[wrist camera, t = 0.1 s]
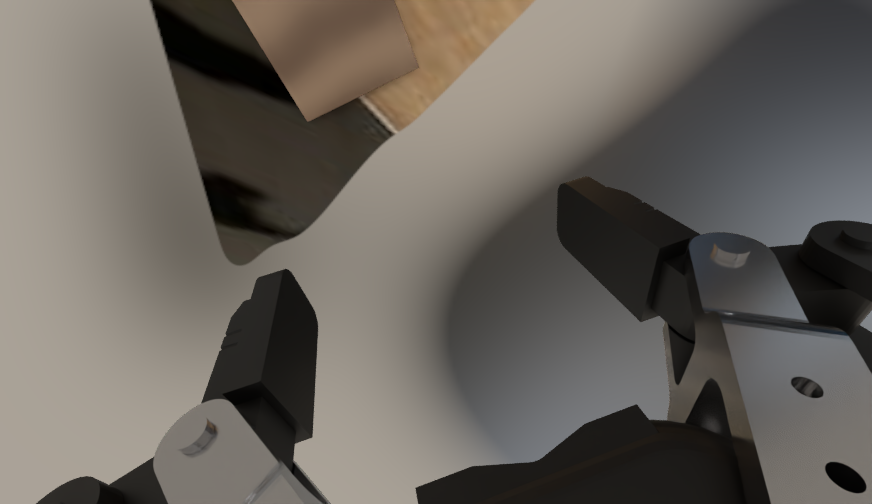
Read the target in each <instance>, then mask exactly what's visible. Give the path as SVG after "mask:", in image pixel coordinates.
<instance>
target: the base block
mask: <svg viewBox="0 0 872 504" xmlns="http://www.w3.org/2000/svg"><path fill="white" fill-rule="evenodd" d="M232 1H233V2H234V4H235V6H236V7H237V9H238V11H239V12H240V14H241V15H242V17H243V19H244V20H245V22H246V23H247V25H248V27H249V28H250V30H251V32H252V33H253V35H254V36H255V38H256V40H257V41H258V43H259V44H260V46H261V48H262V49H263V51H264V52H265V54H266V56H267V57H268V59H269V61H270V62H271V64H272V65H273V67H274V69H275V70H276V72H277V73H278V75H279V77H280V78H281V80H282V82H283V83H284V85H285V86H286V88H287V90H288V91H289V93H290V94H291V96H292V98H293V99H294V101H295V102H296V104H297V106H298V107H299V109H300V111H301V112H302V114H303V115H304V117H305V119H306V120H307V122H309V121H311V120H313V119H315V118H317V117H319V116H321V115H323V114H325V113H327V112H329V111H331V110H333V109H335V108H337V107H339V106H341V105H343V104H345V103H347V102H350V101H352V100H354V99H356V98H358V97H360V96H362V95H364V94H366V93H368V92H370V91H372V90H374V89H376V88H378V87H380V86H382V85H384V84H386V83H388V82H390V81H393V80H395V79H397V78H399V77H401V76H403V75H405V74H407V73H409V72H411V71H413V70H415V69H417V68H419V66H418V63H417V61H416V58H415V55H414V53H413V50H412V47H411V44H410V42H409V39H408V36H407V34H406V31H405V28H404V26H403V23H402V20H401V18H400V15H399V12H398V10H397V7H396V4H395V1H394V0H232Z"/></svg>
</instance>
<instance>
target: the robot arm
mask: <svg viewBox="0 0 872 504" xmlns="http://www.w3.org/2000/svg"><path fill="white" fill-rule="evenodd" d="M557 233H558V237H559V240H560V242H561V244H562V245H563V246H564V248H565V249H566V250H567V251H568V252H569V253H570V254H571V255H572V256H573V257H574V258H576V259H577V260H578V261H579V262H580V263H581V264H582V265H583V266H584V267H585V268H586V269H587V270H588V271H589V272H590V273H591V274H592V275H593V276H594V277H595V278H596V279H597V280H598V281H599V282H600V283H601V284H602V285H603V286H604V287H605V288H607V290H608V291H609V292H610V293H611V294H612V295H614V296H615V297H616V298H617V299H618V300H619V301H620V302H621V303H622V304H623V305H624V306H625V307H626V308H627V309H628V310H629V311H630V312H631V313H632V314H633V315H634V316H635V317H636V318H637V319H638V320H639V321H640V322H643V321H645V320H648V319H651V318H654V317H656V316H660V317H661V318H663V319H664V320H665V323H664V326H663V337H664V346H665V356H666V365H667V374H668V384H669V396H670V397H669V408H668V416H667V421H666V420H649V419H648V418H647V417H646V415H645V414H644V413H643V412H642V411H641V409H640V408H639V407H638V405H634V406H631V407H628V408H626V409H623V410H620V411H618V412H615V413H612V414H610V415H607V416H605V417H602V418H599V419H596V420H594V421H591V422H589V423H586V424H584V425H583V426H582V427H580V428H579V429H578V430H577V431H575V432H574V433H573V434H571V435H570V436H569V437H568V438H566V439H565V440H564V441H563V442H561V443H560V444H559V445H558V446H556V447H555V448H554V449H553V450H551V452H549V453H548V454H546V455H545V456H544V457H543V458H541V459H540V460H538V461H535V462H530V463H515V464H500V465H486V466H472V467H469V468H467V469H464V470H462V471H459V472H456V473H454V474H451V475H448V476H446V477H443V478H440V479H438V480H435V481H432V482H430V483H427V484H424V485H422V486H419V487H417V488H416V493H417V499H418V504H872V332H870V331H868V330H867V329H865V328H863V327H862V326H860V323H861V322H862V321H863V320H864V319H865V318H866V316H867V315H868V314H869V313H870V311H871V310H872V224H868V223H862V222H855V221H827V222H822V223H819V224H817V225H815V226H813V227H812V228H811V230H810V231H809V233H808V235H807V237H806V239H805V240H804V242H803V244H800V245H788V246H777V247H767V246H766V245H764V244H763V243H761V242H759V241H757V240H755V239H752V238H750V237H746V236H743V235H739V234H734V233H726V232H712V233H706V234H699V233H697V232H695V231H693V230H692V229H690V228H688V227H687V226H685V225H683V224H681V223H680V222H678V221H676V220H675V219H673V218H671V217H669V216H667V215H666V214H664V213H662V212H661V211H659V210H654V208H653V207H652V206H650V205H649V204H647V203H645V202H644V203H642V201H641V200H640V199H638V198H636V197H635V196H633V195H631V194H629V193H628V192H624V191H621V190H617V189H614V188H610V187H605V186H604V185H602V184H600V183H599V182H597V181H595V180H594V179H592V178H590V177H587V176H585V177H582V178H579V179H575V180H572V181H569V182H566V183H563V184H561V185H560V186H559V188H558V199H557ZM317 338H318V322H317V318H316V314H315V311H314V309H313V307H312V305H311V304H310V302H309V300H308V299H307V297H306V295H305V294H304V292H303V291H302V289H301V287H300V286H299V284H298V282H297V281H296V279H295V277H294V276H293V274H292V273H291V272H290V271H289V270H287V269H284V270H281V271H278V272H275V273H272V274H268V275H265V276H262V277H259V278H258V279H257V280H256V283H255V287H254V290H253V293H252V296H251V299H250V300H246V301H244V302H243V303H242V304H241V306H240V307H239V308H238V309H237V311H236V312H235V313H234V315H233V316H232V317H231V320H230V323H229V325H228V329H227V331H226V337H224V340H223V343H222V345H221V349H222V350H221V351H219V355H218V357H217V360H216V363H215V366H214V369H213V371H212V374H211V377H210V380H209V383H208V386H207V388H206V391H205V394H204V397H203V400H202V403H201V404H200V405H198V406H196V407H194V408H193V409H191V410H190V411H188V412H187V413H186V414H184V415H183V416H182V417H181V418H180V419H179V420H177V421H176V423H175V424H174V425H173V426H172V427H171V428H170V429H169V430H168V432H167V433H166V434H165V436H164V437H163V439H162V440H161V442H160V444H159V446H158V448H157V450H156V453H155V456H154V457H153V458H151V459H150V460H148V461H147V462H145V463H143V464H142V465H140V466H139V467H137V468H135V469H134V470H132V471H131V472H129V473H127V474H126V475H124V476H123V477H121V478H119V479H118V480H116V481H115V482H113V483H111V484H110V485H108V484H106V483H104V482H101V481H99V480H97V479H95V478H93V477H88V476H86V477H80V478H76V479H74V480H71V481H69V482H67V483H65V484H63V485H61V486H59V487H58V488H56V489H55V490H53V491H52V492H50V493H49V494H47V495H46V496H45V497H44V498H42V499H41V500H40V501H39V502H38V503H36V504H331V503H330V502H329V501H328V500H327V498H326V497H325V496H324V495H323V494H322V492H321V491H320V490H319V489H318V488H317V487H316V485H315V484H314V483H313V482H312V481H311V480H310V478H309V477H308V476H307V475H306V473H305V472H304V471H303V470H302V469H301V468H300V467H299V465H298V464H297V463H296V462H295V461H294V460H293V456H294V446H295V443H298V442H301V441H304V440H306V439H309V438H312V434H313V414H314V396H315V376H316V358H317Z"/></svg>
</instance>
